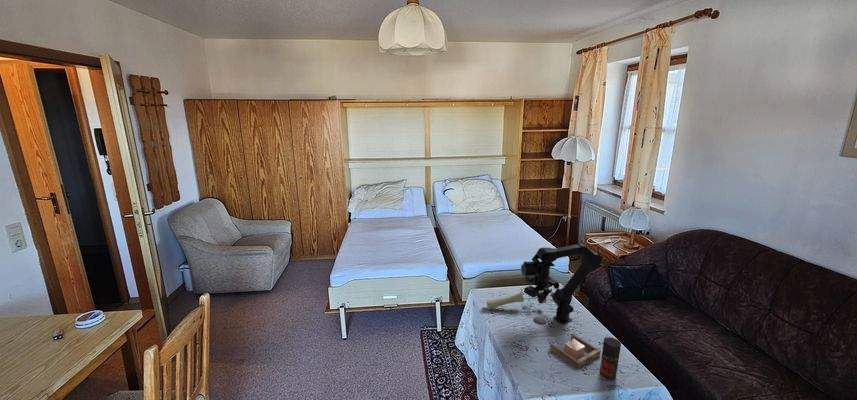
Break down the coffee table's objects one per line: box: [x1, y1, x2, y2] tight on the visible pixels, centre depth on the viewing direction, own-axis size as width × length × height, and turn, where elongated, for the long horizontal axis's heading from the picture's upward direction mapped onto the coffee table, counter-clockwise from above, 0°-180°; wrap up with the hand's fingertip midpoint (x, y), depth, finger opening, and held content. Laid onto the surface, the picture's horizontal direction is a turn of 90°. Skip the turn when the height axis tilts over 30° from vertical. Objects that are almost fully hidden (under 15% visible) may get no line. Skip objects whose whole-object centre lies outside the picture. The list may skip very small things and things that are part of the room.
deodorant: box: [599, 336, 622, 381], centre depth 141 cm, size 6×6×15 cm
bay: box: [550, 333, 602, 369], centre depth 155 cm, size 15×14×2 cm
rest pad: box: [533, 316, 547, 325], centre depth 178 cm, size 6×6×1 cm
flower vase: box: [485, 288, 554, 310], centre depth 188 cm, size 12×12×35 cm
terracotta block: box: [563, 339, 586, 360], centre depth 155 cm, size 6×6×4 cm
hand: (540, 303), depth 176 cm, fingers closed
